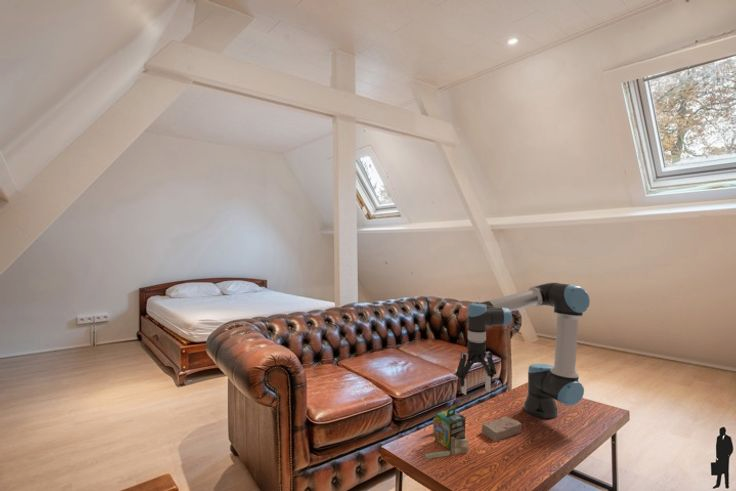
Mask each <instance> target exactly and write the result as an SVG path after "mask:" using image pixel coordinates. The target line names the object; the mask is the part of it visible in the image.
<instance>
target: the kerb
mask: <svg viewBox="0 0 736 491" xmlns="http://www.w3.org/2000/svg"><path fill="white" fill-rule="evenodd" d="M450 454H451V451H450V450H445V451H437V452H430V453H426V454H424V456H425V457H424V458H425V459H434V458H441V457H447V456H450Z"/></svg>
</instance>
